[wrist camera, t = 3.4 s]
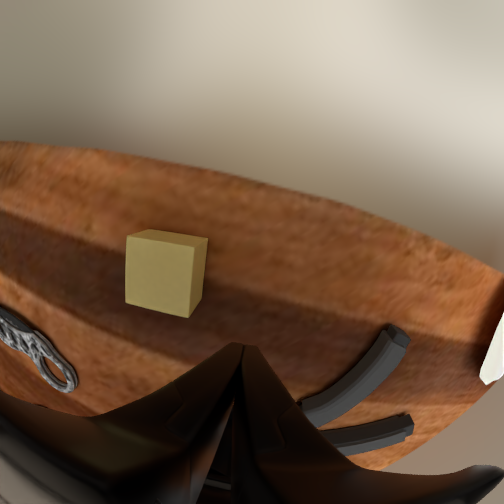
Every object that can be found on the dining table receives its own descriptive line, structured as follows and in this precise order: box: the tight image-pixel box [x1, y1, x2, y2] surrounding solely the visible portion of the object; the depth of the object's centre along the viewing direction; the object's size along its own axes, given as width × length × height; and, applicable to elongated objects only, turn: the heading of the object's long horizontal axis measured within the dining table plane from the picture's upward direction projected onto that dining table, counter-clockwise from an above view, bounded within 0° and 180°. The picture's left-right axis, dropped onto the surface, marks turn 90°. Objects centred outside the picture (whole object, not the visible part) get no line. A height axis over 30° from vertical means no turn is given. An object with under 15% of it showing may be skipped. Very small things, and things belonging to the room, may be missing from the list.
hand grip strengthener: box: [299, 324, 414, 456], centre depth 17 cm, size 2×12×15 cm
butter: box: [125, 229, 208, 318], centre depth 15 cm, size 4×4×3 cm
